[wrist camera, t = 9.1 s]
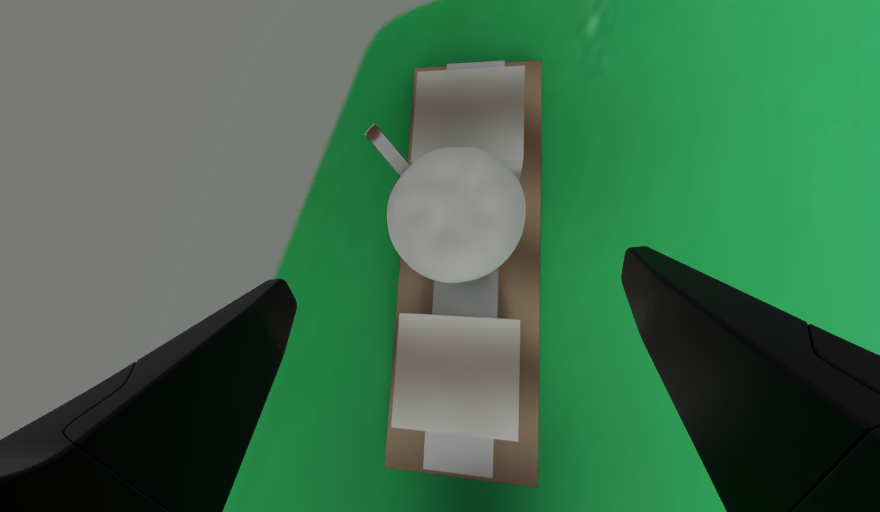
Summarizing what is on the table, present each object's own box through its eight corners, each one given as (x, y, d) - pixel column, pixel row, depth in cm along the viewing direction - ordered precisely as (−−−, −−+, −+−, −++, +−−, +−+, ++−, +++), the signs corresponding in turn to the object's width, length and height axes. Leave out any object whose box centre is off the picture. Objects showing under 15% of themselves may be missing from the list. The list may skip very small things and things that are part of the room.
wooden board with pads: (535, 477, 19) (548, 533, 14) (391, 458, 20) (357, 504, 15) (539, 73, 23) (551, 6, 18) (418, 80, 24) (398, 19, 19)
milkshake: (457, 191, 20) (421, 71, 10) (531, 251, 19) (568, 180, 9) (404, 249, 20) (316, 184, 10) (474, 314, 19) (450, 311, 9)
